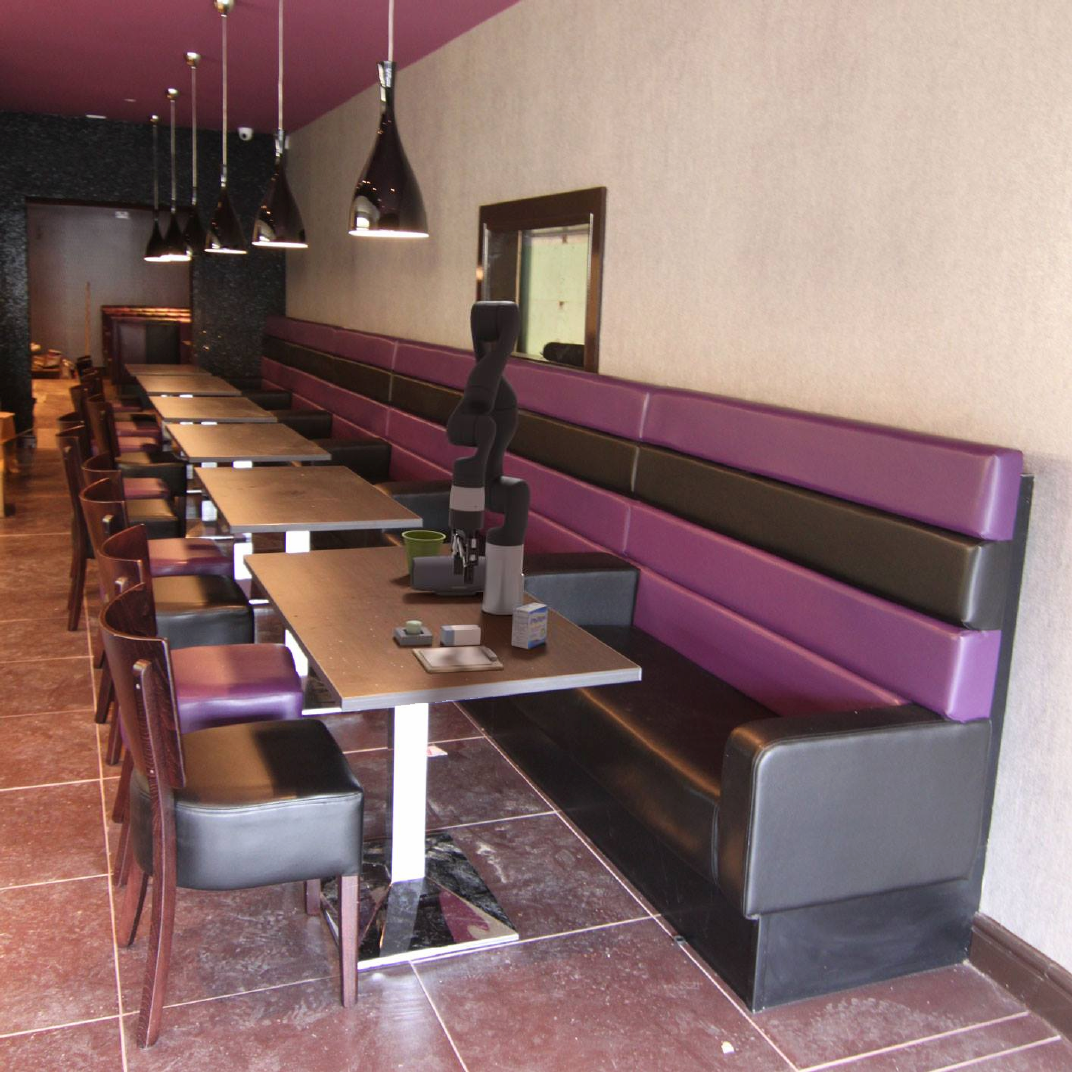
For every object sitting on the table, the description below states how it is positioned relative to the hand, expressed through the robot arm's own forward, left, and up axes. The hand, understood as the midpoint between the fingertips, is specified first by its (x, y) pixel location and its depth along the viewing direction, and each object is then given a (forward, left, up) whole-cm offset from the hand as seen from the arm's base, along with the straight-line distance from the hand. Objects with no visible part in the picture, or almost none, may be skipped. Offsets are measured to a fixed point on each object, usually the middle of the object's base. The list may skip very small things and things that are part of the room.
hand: (462, 579), depth 245 cm
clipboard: (+4, +12, -15) cm, 19 cm away
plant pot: (-6, -61, -15) cm, 63 cm away
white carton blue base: (0, 0, -15) cm, 15 cm away
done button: (+10, -3, -13) cm, 17 cm away
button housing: (+10, -3, -15) cm, 18 cm away
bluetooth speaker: (-10, -41, -15) cm, 45 cm away
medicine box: (-15, +3, -15) cm, 21 cm away
